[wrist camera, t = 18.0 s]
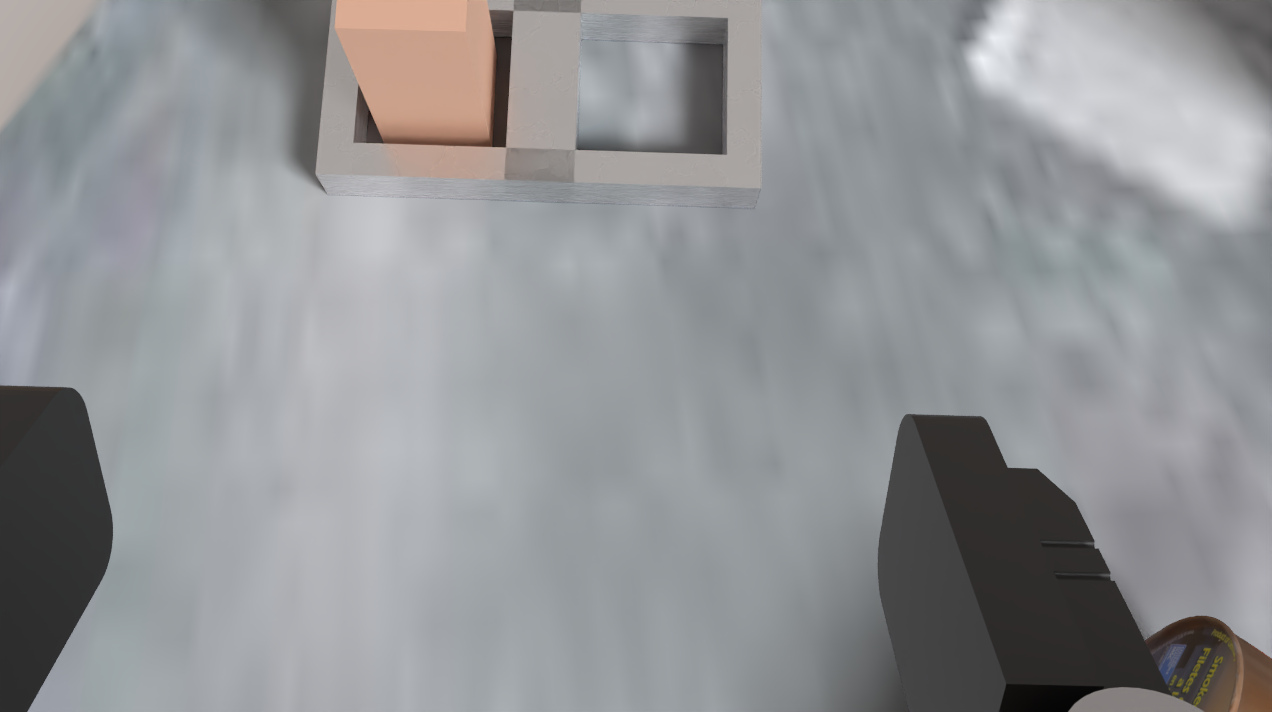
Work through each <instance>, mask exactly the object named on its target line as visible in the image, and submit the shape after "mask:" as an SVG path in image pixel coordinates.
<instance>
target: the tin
mask: <svg viewBox="0 0 1272 712" xmlns="http://www.w3.org/2000/svg"><path fill="white" fill-rule="evenodd" d="M1145 643H1146V644H1147V646H1148V648H1149V650H1150V652H1151V654H1152V656H1153V658H1154V660H1155V662H1156V664H1157V666H1158V668H1159V670H1160V672H1161V674H1162V676H1163V678H1164V680H1165V682H1166V684H1167V686H1168V688H1169V690H1170V692H1171V694H1172V696H1173V697H1175V698H1178V699H1180V700H1183V701H1185V702H1188V703H1189V704H1191V705H1193V706H1195V707H1197V708H1199V709H1201V710H1203V711H1204V712H1272V659H1271V658H1270V657H1268V656H1267V655H1266V654H1264V653H1263V652H1261V651H1260V650H1258V649H1257V648H1255V647H1254V646H1252V645H1251V644H1249V643H1248V642H1246V641H1245V640H1243V639H1242V638H1240V637H1238V636H1237V635H1235V634H1234V633H1233V632H1232V630H1231V629H1230V628H1229V627H1228V626H1227V625H1226V624H1225V623H1223V622H1222V621H1220V620H1218V619H1216V618H1213V617H1209V616H1194V617H1188V618H1185V619H1181V620H1179V621H1177V622H1174V623H1172V624H1170V625H1168V626H1166V627H1165V628H1163V629H1162V630H1160V631H1158V632H1157V633H1155V634H1154V635H1152V636H1151V637H1149V638H1148V639H1147V640H1145Z"/></svg>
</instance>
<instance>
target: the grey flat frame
mask: <svg viewBox="0 0 1272 712" xmlns="http://www.w3.org/2000/svg"><path fill="white" fill-rule="evenodd" d="M487 3H488V8H489V14H490V19H491V25H492V30H493V36H494V37H512V47H511V65H510V84H509V102H508V120H507V138H506V148H503V147H472V146H442V145H411V144H381V143H366V136H367V124H368V112H369V107H368V105H367V102H366V100H365V98H364V95H363V93H362V91H361V88H360V86H359V84H358V81H357V79H356V77H355V74H354V72H353V70H352V67H351V65H350V63H349V60H348V58H347V56H346V54H345V51H344V49H343V47H342V44H341V42H340V40H339V37H338V35H337V33H336V30H335V17H336V5H337V0H332V5H331V16H330V26H329V36H328V47H327V57H326V68H325V78H324V88H323V99H322V109H321V120H320V130H319V141H318V151H317V161H316V172H315V174H316V176H317V177H318V179H319V181H320V182H321V184H322V186H323V187H324V189H325V191H326V192H327V194H328V195H355V196H386V197H418V198H449V199H480V200H511V201H542V202H573V203H605V204H636V205H667V206H698V207H729V208H755V206H756V203H757V200H758V197H759V194H760V191H761V0H487ZM582 40H610V41H639V42H668V43H698V44H723V109H722V155H716V154H686V153H655V152H625V151H594V150H577V147H578V122H579V97H580V72H581V47H582Z"/></svg>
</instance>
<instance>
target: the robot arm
mask: <svg viewBox="0 0 1272 712" xmlns="http://www.w3.org/2000/svg"><path fill="white" fill-rule="evenodd" d="M112 540H113V522H112V514H111V509H110V505H109V501H108V496H107V492H106V488H105V484H104V480H103V475H102V471H101V467H100V463H99V459H98V455H97V450H96V446H95V442H94V438H93V434H92V429H91V425H90V421H89V417H88V413H87V409H86V406H85V403H84V401H83V398H82V397H81V395H80V394H79V393H78V392H77V391H76V390H75V389H73V388H67V387H33V386H0V712H27V711H28V709H29V708H30V706H31V704H32V702H33V701H34V699H35V697H36V695H37V694H38V692H39V690H40V688H41V686H42V685H43V683H44V681H45V679H46V678H47V676H48V674H49V672H50V671H51V669H52V667H53V665H54V663H55V662H56V660H57V658H58V656H59V655H60V653H61V651H62V649H63V648H64V646H65V644H66V642H67V640H68V639H69V637H70V635H71V633H72V632H73V630H74V628H75V626H76V625H77V623H78V621H79V619H80V618H81V616H82V614H83V612H84V610H85V609H86V607H87V605H88V603H89V602H90V600H91V598H92V596H93V595H94V593H95V591H96V589H97V587H98V586H99V584H100V582H101V580H102V578H103V576H104V574H105V572H106V569H107V566H108V563H109V559H110V554H111V549H112ZM1094 542H1095V541H1094V539H1093V537H1092V535H1091V533H1090V531H1089V529H1088V527H1087V525H1086V523H1085V521H1084V519H1083V517H1082V515H1081V513H1080V511H1079V509H1078V507H1077V505H1076V503H1075V502H1074V501H1073V500H1072V499H1071V498H1069V497H1068V496H1067V495H1066V494H1065V493H1064V492H1063V491H1062V490H1060V489H1059V488H1058V487H1057V486H1056V485H1055V484H1054V483H1053V482H1051V481H1050V480H1049V479H1048V478H1047V477H1046V476H1045V475H1044V474H1042V473H1041V472H1040V471H1039V470H1038V469H1026V468H1007V465H1006V463H1005V461H1004V459H1003V456H1002V454H1001V452H1000V449H999V447H998V445H997V443H996V440H995V438H994V436H993V434H992V431H991V429H990V427H989V425H988V423H987V421H986V420H985V419H984V418H983V417H981V416H949V415H915V414H907V415H905V416H904V418H903V419H902V422H901V424H900V427H899V431H898V436H897V441H896V447H895V453H894V458H893V464H892V470H891V475H890V481H889V487H888V492H887V498H886V504H885V509H884V515H883V521H882V526H881V532H880V538H879V548H878V580H879V590H880V597H881V602H882V606H883V610H884V614H885V618H886V622H887V626H888V630H889V634H890V638H891V642H892V646H893V650H894V654H895V658H896V662H897V666H898V670H899V674H900V678H901V682H902V686H903V690H904V694H905V698H906V702H907V706H908V710H909V712H1204V711H1203V710H1201V709H1199V708H1197V707H1195V706H1193V705H1191V704H1189V703H1188V702H1185V701H1183V700H1180V699H1178V698H1175V697H1173V696H1172V694H1171V692H1170V690H1169V688H1168V686H1167V684H1166V682H1165V680H1164V678H1163V676H1162V674H1161V672H1160V670H1159V668H1158V666H1157V664H1156V662H1155V660H1154V658H1153V656H1152V654H1151V652H1150V650H1149V648H1148V646H1147V644H1146V643H1145V641H1144V639H1143V637H1142V635H1141V633H1140V631H1139V629H1138V627H1137V625H1136V623H1135V621H1134V619H1133V617H1132V615H1131V613H1130V611H1129V609H1128V607H1127V605H1126V603H1125V601H1124V599H1123V597H1122V595H1121V593H1120V591H1119V589H1118V587H1117V585H1116V583H1115V581H1111V580H1110V571H1109V569H1108V567H1107V565H1106V563H1105V561H1104V559H1103V557H1102V555H1101V553H1100V551H1099V549H1095V547H1094Z"/></svg>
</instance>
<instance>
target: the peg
mask: <svg viewBox="0 0 1272 712" xmlns="http://www.w3.org/2000/svg"><path fill="white" fill-rule="evenodd" d="M335 30H336V33H337V35H338V37H339V40H340V42H341V44H342V47H343V49H344V51H345V54H346V56H347V58H348V60H349V63H350V65H351V67H352V70H353V72H354V74H355V77H356V79H357V81H358V84H359V86H360V88H361V91H362V93H363V95H364V98H365V100H366V102H367V105H368V107H369V109H370V112H371V114H372V116H373V118H374V121H375V123H376V125H377V128H378V130H379V132H380V135H381V137H382V139H383V142H384V144H411V145H442V146H472V147H492V145H493V125H494V105H495V85H496V64H497V52H496V47H495V41H494V36H493V30H492V25H491V19H490V14H489V8H488V3H487V0H337V5H336V17H335Z"/></svg>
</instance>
